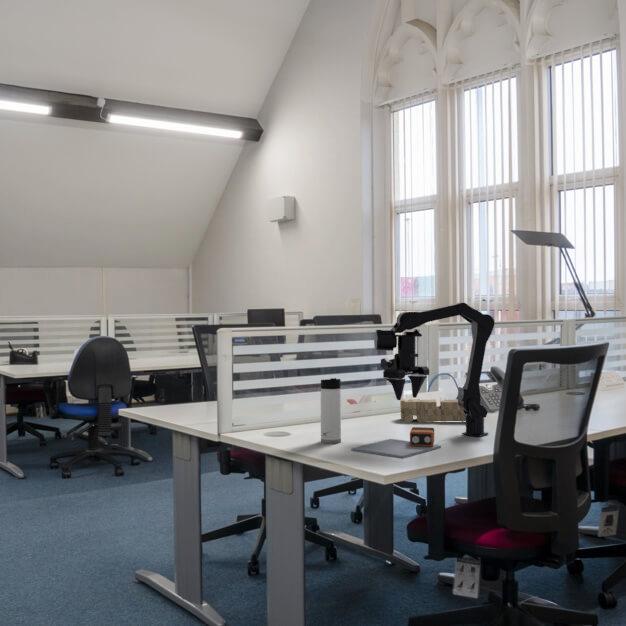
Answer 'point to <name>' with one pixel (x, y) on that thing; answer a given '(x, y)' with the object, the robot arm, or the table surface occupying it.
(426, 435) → the battery
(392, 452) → the mat
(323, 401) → the travel mug
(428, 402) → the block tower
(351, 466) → the table surface
